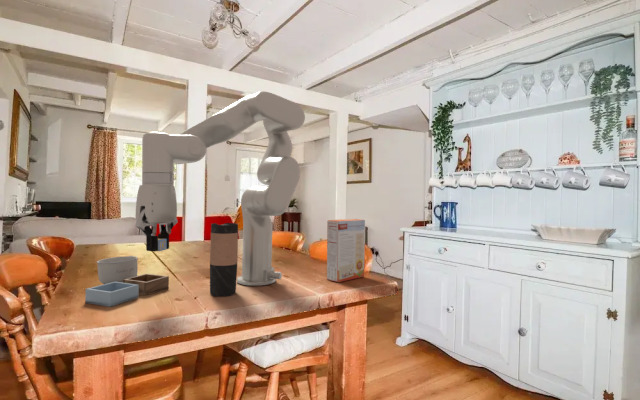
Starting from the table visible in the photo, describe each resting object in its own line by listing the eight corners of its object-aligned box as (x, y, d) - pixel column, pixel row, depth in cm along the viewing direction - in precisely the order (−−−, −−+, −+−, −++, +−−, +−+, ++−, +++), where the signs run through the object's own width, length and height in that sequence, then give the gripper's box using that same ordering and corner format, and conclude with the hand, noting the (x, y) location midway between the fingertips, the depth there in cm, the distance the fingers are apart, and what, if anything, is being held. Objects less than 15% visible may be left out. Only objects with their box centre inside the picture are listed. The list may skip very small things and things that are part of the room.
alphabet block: (158, 251, 88) (158, 240, 88) (148, 251, 89) (148, 239, 89) (166, 249, 91) (167, 238, 91) (157, 249, 92) (157, 238, 92)
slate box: (138, 297, 92) (138, 284, 92) (110, 306, 84) (110, 292, 84) (114, 294, 94) (115, 281, 94) (85, 302, 86) (85, 288, 86)
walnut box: (168, 287, 102) (168, 276, 102) (146, 295, 94) (146, 282, 94) (146, 285, 105) (146, 273, 105) (122, 291, 97) (123, 279, 97)
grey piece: (118, 290, 98) (119, 262, 98) (87, 287, 101) (87, 260, 101) (151, 279, 112) (152, 255, 112) (123, 277, 114) (123, 253, 114)
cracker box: (352, 274, 127) (353, 218, 127) (364, 277, 123) (366, 219, 123) (325, 279, 118) (326, 219, 118) (337, 283, 114) (339, 220, 113)
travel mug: (229, 297, 94) (231, 225, 94) (203, 295, 95) (205, 224, 95) (240, 290, 101) (242, 223, 101) (217, 288, 103) (218, 222, 102)
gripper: (169, 181, 98) (169, 244, 99) (120, 178, 83) (119, 254, 83) (191, 181, 96) (190, 246, 96) (144, 178, 80) (143, 256, 81)
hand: (157, 249), depth 90 cm, fingers closed on alphabet block, 3 cm apart
